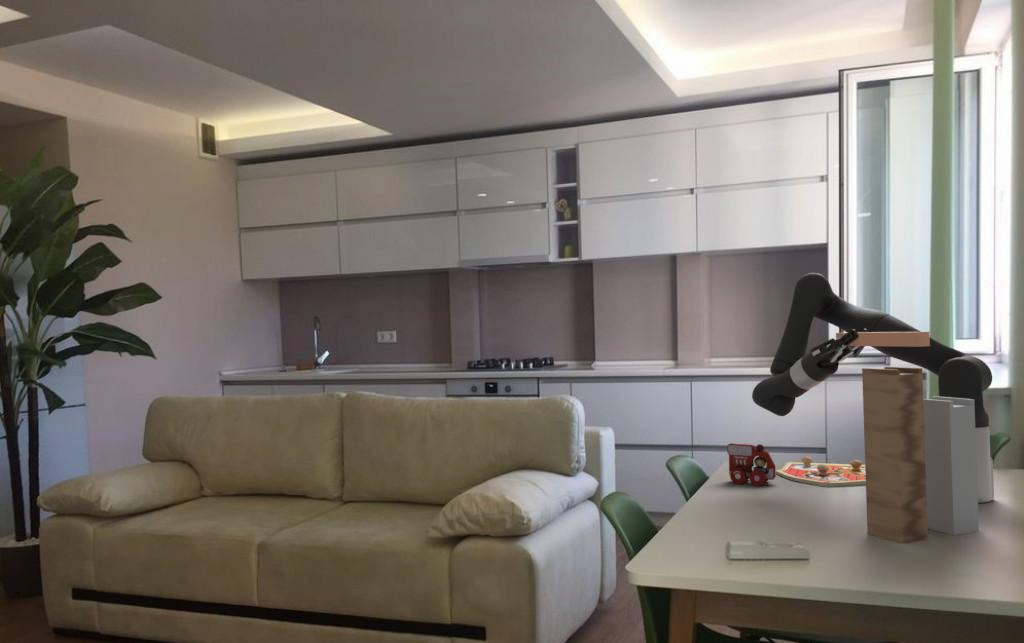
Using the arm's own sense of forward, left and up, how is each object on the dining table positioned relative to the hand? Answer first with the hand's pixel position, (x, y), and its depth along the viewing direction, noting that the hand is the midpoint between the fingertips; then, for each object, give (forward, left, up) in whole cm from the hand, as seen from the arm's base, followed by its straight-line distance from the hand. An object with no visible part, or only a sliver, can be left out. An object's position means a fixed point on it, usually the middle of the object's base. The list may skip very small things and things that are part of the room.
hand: (861, 332), depth 175 cm
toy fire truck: (+3, -36, -40) cm, 54 cm away
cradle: (-1, +19, -40) cm, 44 cm away
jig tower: (+13, +19, -40) cm, 46 cm away
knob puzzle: (-21, -32, -41) cm, 56 cm away
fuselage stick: (0, +5, -3) cm, 6 cm away
